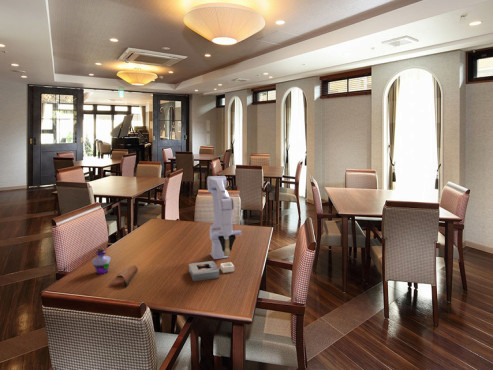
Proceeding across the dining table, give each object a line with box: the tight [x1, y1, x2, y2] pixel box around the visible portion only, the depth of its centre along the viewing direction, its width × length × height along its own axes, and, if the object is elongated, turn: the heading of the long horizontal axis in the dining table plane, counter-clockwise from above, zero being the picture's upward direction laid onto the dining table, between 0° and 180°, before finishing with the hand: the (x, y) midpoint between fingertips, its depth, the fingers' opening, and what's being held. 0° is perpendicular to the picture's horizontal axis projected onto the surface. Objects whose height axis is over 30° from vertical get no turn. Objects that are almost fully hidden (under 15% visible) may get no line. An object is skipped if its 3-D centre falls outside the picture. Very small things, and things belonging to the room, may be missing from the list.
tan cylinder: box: [224, 238, 231, 257], centre depth 164 cm, size 3×3×8 cm
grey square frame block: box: [188, 260, 220, 282], centre depth 160 cm, size 12×12×4 cm
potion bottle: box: [91, 247, 112, 275], centre depth 163 cm, size 9×9×12 cm
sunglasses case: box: [108, 265, 139, 289], centre depth 155 cm, size 18×7×7 cm
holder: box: [219, 261, 235, 274], centre depth 165 cm, size 6×6×3 cm
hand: (226, 250), depth 164 cm, fingers closed on tan cylinder, 3 cm apart
